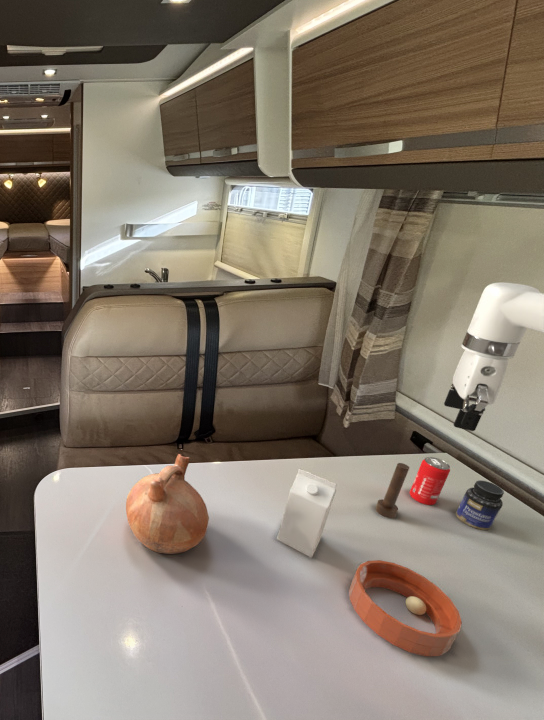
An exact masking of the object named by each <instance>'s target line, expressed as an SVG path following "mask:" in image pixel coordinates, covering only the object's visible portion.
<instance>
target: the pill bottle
mask: <svg viewBox="0 0 544 720" xmlns="http://www.w3.org/2000/svg"><path fill="white" fill-rule="evenodd" d="M504 494H505V492H504V490H503V489H502V488H501V487H500V486H498V485H497V484H495V483H493V482H490V481H487V480H479V479H478V480H477V481H475V482H474V485H473V487H470V488H467V490H466V491H465V493H464V494H463V495H464V496H463V498H462V500H461V501H460V503H459V505H458V507H457V509H456V512H455V517H456V518H457V519H458V520H459V521H460V522H462V523H463V524H465V525H466V526H469V527H471V528H473V529H476V530H478V531H479V530H480V531H488V530H490V529H491V527H492V526H493V524H494V522H495V521H496V519H497V516H498V515H499V513H500V511H501V509H502V507H503V506H504V504H503V503H504V502H503V500H502V498H503V496H504Z"/></svg>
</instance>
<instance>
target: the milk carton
mask: <svg viewBox="0 0 544 720" xmlns="http://www.w3.org/2000/svg"><path fill="white" fill-rule="evenodd" d="M337 486H338V485H337V483H335V482H334V481H333V482H332V481H330V480H328V479H325V478H324V477H321V476H318V475H316V474H313V473H311V472H309V471H306V470H304V469H302V468H298V470H297V474H296V476H295V478H294V481H293V482H292V485H291V488H290V490H289V493H288V496H287V500H286V505H285V508H284V512H283V514H282V515H283V516H282V519H281V522H280V526H279V530H278V534H277V537H276V540H277V541H280V542H281V543H282V544H284V545H287V546H288V547H290V548H291V549H294V550H296V551H298V552H300V553H301V554H303V555H305V556H307V557H309V558H313V556H314V554H315V552H316V550H317V547H318V545H319V543H320V542H321V538H322V536H323V532H324V530H325V527H326V523H327V521H328V517H329V514H330V512H331V508H332V505H333V502H334V500H335V495H336V493H337Z"/></svg>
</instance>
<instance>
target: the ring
mask: <svg viewBox="0 0 544 720" xmlns="http://www.w3.org/2000/svg"><path fill="white" fill-rule="evenodd" d="M370 588H382V589H388V590H389V591H392V592H395V593H398V594H400V595H401V596H403V597H405V598H406V599H407V598H408V597H411V596H413V597H417V598H419V599H421V600H422V601H423V602H424V603H425V605H426V612H425V613H424V614H426V615H427V616H428V617H429V619H430V621H431V622H432V623H433V625H434V628H435V633H434V632H433V633H432V632H428V631H423V630H419V629H417V628H414V627H412V626H410V625H408V624H405V623H403V622H401V621H400V620H398V619H397V618H395V617H393V616H392V615H390V614H389V613H387V612H386V611H385V610H384V609H383V608H381V607H380V606H379V605H378V604H377V603H375V601H373V599H372V598H371V597H370V595H369V594H368V593H367V592H366V590H368V589H370ZM348 592H349V593H348V595H349V598H348V599H349V601H350V603H351V605H352V607H353V610H354V612H355V613H356V614H357V615H358V617H359V618H360V619H361V620H362V622H363V623H364V624H365V625H366V626H368V627H369V628H370V630H372V631H373V632H374V633H375V634H376V635H377V636H379V637H381V638H382V639H383V640H385V641H387V642H388V643H389V644H391V645H392V646H395V647H397V648H399V649H401V650H404V651H406V652H408V653H411V654H415V655H419V656H423V657H427V658H429V657H440V656H443V655H445V653H447V652H449V651H450V649H451V647H452V646H453V644H454V642H455V640H456V638H457V637H458V635H459V633H460V631H461V627H462V624H463V622H462V618H461V614H460V611H459V610H458V608H457V606H456V605H455V604H454V602H453V601H452V599H451V597H449V596H448V595H447V594H446V593H445V592H444V591H443V590H442V589H441V588H440V587H439V586H437V585H436V584H434V583H433V581H431V580H429V579H428V578H426V577H425V576H423V575H422V574H420V573H418V572H416V571H414V570H412V569H411V568H408V567H405V566H403V565H401V564H398V563H395V562H391V561H387V560H382V559H381V560H380V559H375V560H367V561H364V562H363V563H360V564H359V566H358V567H357V569H356V570H355V573H354V576H353V578H352V580H351V584H350V586H349V589H348Z"/></svg>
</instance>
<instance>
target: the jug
mask: <svg viewBox="0 0 544 720" xmlns="http://www.w3.org/2000/svg"><path fill="white" fill-rule="evenodd" d="M189 464H190V457H189V456H186V455H185V454H182V453H178V454H177V456H176V458H175V461H174V464H173V465H166V466H165V467H164V468H162V469H161V470H160V471H159V472H158V473H157V472H156V473H151V474H148V475H146V476H143V477H142V478H141V479H139V480H138V481H137V482H136V483H134V484H133V486H132V487H131V489H130V491H129V492H128V494H127V497H126V501H125V511H126V512H125V513H126V518H127V522H128V523H127V524H128V525H129V527H130V529H131V531H132V534H133V535H134V536H135V538H136V539H137V541H139V542H140V543H141V544H142V545H143V546H144V547H146V548H147V549H148V550H150V551H153V552H156V553H159V554H165V555H173V554H181V553H184V552H187V551H189V550H191V549H192V548H195V547H196V546H198V544H199V543H200V542H202V540H203V539H204V537H205V536H206V533H207V531H208V526H209V521H210V517H209V512H208V508H207V505H206V503H205V501H204V499H203V497H202V496H201V494H200V493H199V491H198V490H197V489H195V488H194V486H193V485H192V484H191V483H189V482H188V481H187V480H186V477H185V476H186V472H187V470H188V467H189Z"/></svg>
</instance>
